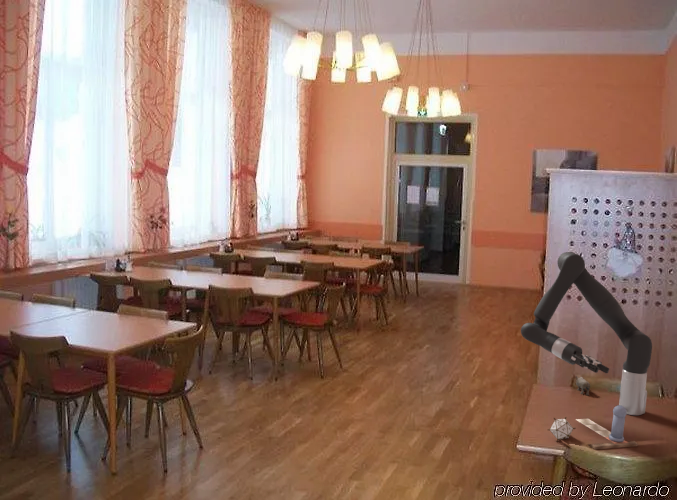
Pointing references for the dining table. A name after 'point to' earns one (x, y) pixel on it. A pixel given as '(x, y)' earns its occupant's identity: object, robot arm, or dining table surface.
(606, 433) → the game board
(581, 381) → the rhino figurine
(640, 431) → the dining table surface
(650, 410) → the dining table surface
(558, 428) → the game die
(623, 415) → the pawn
